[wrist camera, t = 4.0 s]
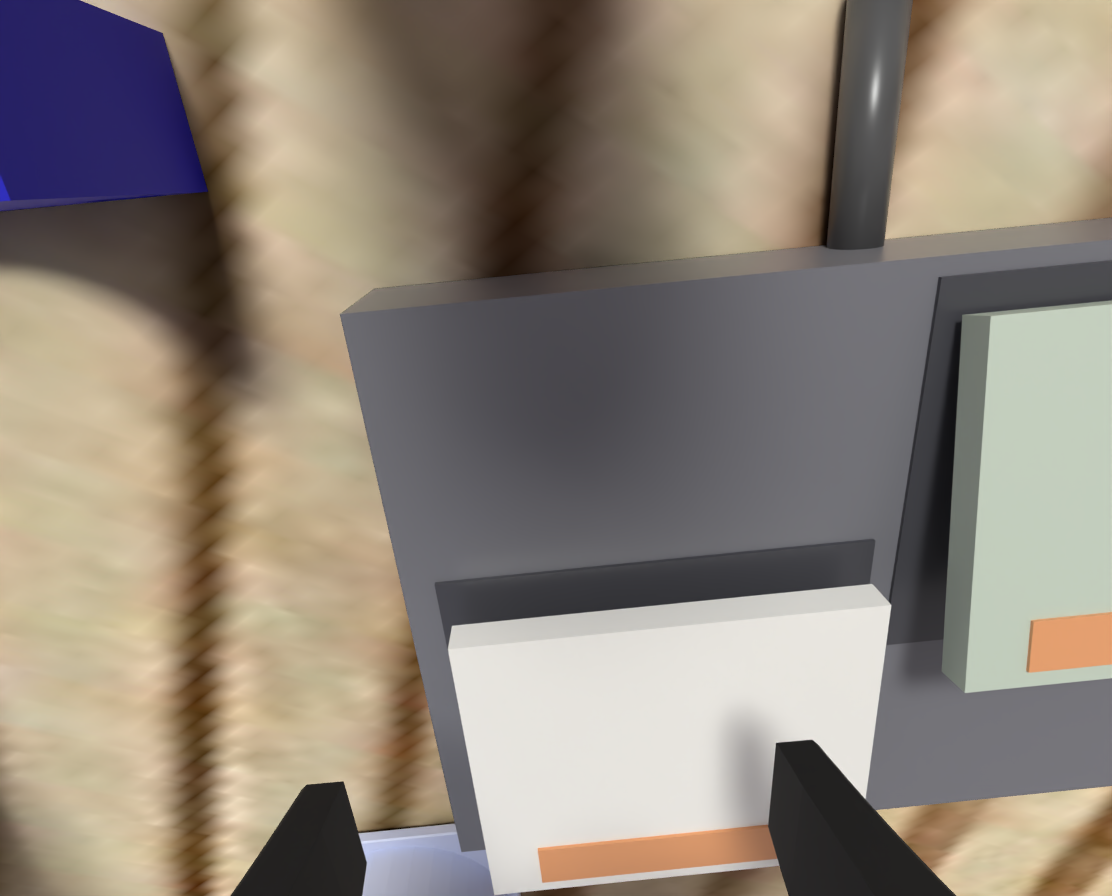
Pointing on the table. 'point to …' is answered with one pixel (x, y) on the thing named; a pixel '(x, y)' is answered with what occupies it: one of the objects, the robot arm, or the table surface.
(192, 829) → the table surface
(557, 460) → the switch block
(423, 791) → the table surface
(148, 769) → the table surface
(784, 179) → the table surface
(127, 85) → the blue curved bracket
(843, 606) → the cream rocker
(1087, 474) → the plate
